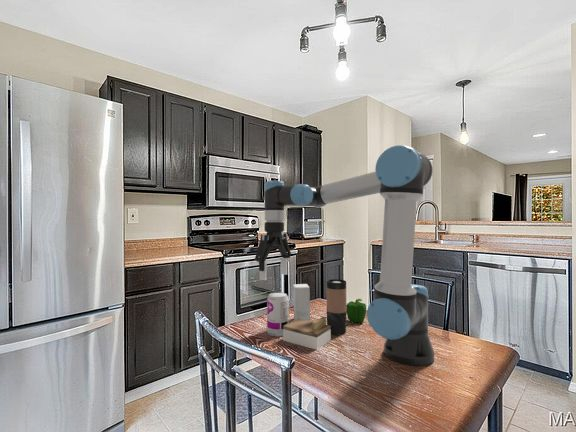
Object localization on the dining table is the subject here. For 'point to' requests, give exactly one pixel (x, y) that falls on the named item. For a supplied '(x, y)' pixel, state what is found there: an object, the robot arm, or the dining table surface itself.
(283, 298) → the supplement can
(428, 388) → the dining table surface
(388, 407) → the dining table surface
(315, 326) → the lid
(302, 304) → the skincare box
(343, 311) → the travel mug
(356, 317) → the bell pepper
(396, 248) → the robot arm
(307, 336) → the keepsake box
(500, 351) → the dining table surface
